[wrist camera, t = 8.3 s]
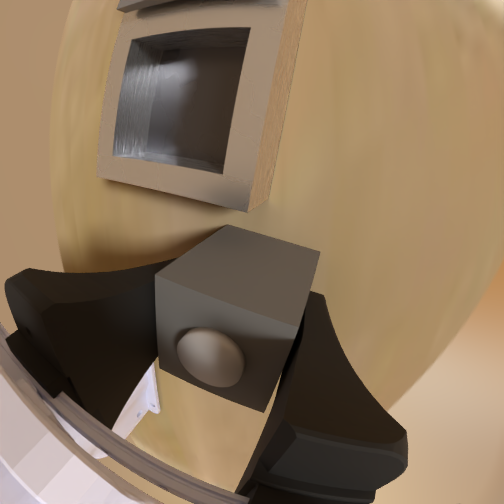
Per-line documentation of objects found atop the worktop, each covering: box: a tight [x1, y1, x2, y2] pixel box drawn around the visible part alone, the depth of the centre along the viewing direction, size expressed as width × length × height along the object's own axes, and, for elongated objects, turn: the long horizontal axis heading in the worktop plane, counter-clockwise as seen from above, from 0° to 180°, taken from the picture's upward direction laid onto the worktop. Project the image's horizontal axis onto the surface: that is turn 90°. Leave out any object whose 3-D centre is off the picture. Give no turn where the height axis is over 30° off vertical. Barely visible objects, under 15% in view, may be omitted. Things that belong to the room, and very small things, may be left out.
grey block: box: [155, 225, 320, 413], centre depth 9 cm, size 4×4×5 cm
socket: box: [97, 0, 307, 213], centre depth 7 cm, size 14×7×2 cm, turn 170°
